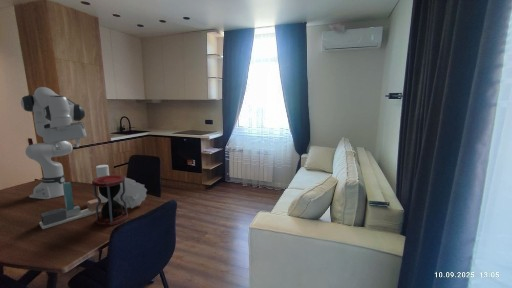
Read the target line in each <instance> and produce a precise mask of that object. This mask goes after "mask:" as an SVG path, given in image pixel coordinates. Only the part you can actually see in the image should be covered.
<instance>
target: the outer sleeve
mask: <svg viewBox="0 0 512 288" xmlns="http://www.w3.org/2000/svg"><path fill="white" fill-rule="evenodd" d="M65 209H66V208H64V207H61V208H57V209H54V210H50V211H45V212H42V213H40V219H41V222H42V223H43V225H44V226H45V225H49V224H52V223H55V222H59V221H62V220H66V219H67V216H66V210H65Z"/></svg>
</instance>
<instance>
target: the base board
mask: <svg viewBox="0 0 512 288" xmlns="http://www.w3.org/2000/svg"><path fill="white" fill-rule="evenodd" d="M80 211H81V213H79V214H76V215H72V216H69V217H67V219H66V220H62V221H59V222H55V223H52V224H49V225H45V226H44V225H43V223H42V221H40V222H39V226H40V228H41V229H42V230H45V229H49V228H51V227H52V228H53V227H54V226H55V227H56V226H59V225H61V224H65V223H68V222H71V221H76V220H78V219H81V218H85V217H89V216H92V215H95V214H96V211H93V212H91V211H89V210H88V208H86V209H83V210H81V209H80ZM98 213H101V209H100V210H98Z"/></svg>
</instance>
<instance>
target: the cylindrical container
mask: <svg viewBox="0 0 512 288" xmlns="http://www.w3.org/2000/svg"><path fill="white" fill-rule="evenodd" d="M95 171H96V178H99V177H102V176H108V175H110V169H109V165H108V164H99V165H96V167H95ZM97 191H98V192H97V193H98V197H99V198H100V199H101V203H102V204H103V203H104V204H105V202H107V201H108V199H107V198H105V197H103V196H102V195H101V194H100V192H99V187H98V186H97Z"/></svg>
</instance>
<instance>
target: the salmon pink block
mask: <svg viewBox="0 0 512 288" xmlns="http://www.w3.org/2000/svg"><path fill="white" fill-rule="evenodd" d="M97 204H98V199H97V198H94V199H92V200H91V199H90V200H87V209H88V210H89V211H91V212H93V211H96V205H97ZM102 204H103V203H101V204H100V205H99V206H98V210H100V209H102V207H103V205H102Z"/></svg>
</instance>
